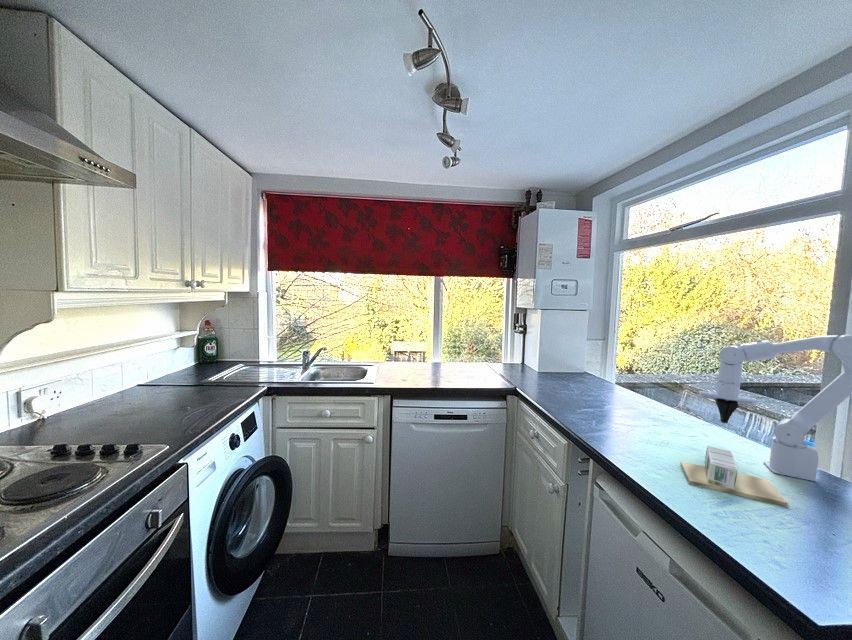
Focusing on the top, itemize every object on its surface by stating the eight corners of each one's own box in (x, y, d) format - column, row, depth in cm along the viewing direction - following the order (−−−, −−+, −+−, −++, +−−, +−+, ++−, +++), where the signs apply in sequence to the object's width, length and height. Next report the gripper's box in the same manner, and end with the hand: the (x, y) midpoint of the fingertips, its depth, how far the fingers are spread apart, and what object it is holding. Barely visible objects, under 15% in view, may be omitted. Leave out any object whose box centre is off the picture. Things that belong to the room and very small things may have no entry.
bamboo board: (766, 482, 99) (767, 479, 99) (787, 506, 88) (788, 503, 88) (680, 464, 108) (680, 461, 108) (689, 483, 97) (689, 480, 97)
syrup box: (706, 444, 107) (709, 462, 96) (732, 451, 104) (737, 469, 92) (704, 462, 108) (706, 482, 96) (729, 469, 104) (735, 490, 93)
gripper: (753, 383, 117) (748, 422, 118) (698, 376, 124) (694, 414, 125) (761, 387, 111) (755, 429, 112) (703, 380, 117) (699, 420, 118)
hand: (723, 422), depth 118 cm, fingers closed
